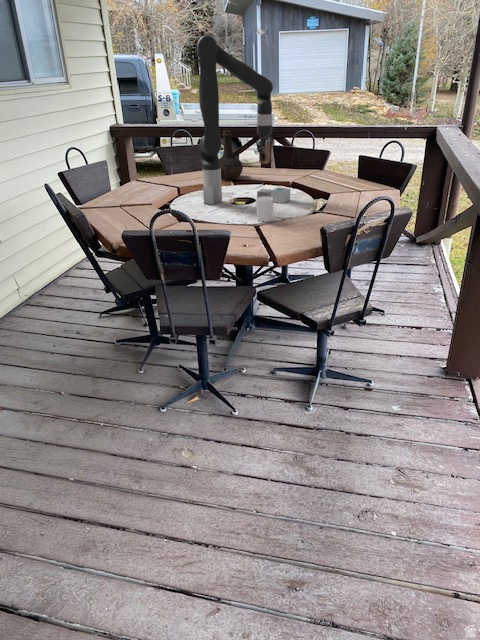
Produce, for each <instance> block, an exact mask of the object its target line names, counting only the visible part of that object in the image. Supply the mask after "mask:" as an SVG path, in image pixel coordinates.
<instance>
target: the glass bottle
mask: <svg viewBox="0 0 480 640" xmlns="http://www.w3.org/2000/svg"><path fill="white" fill-rule="evenodd" d="M222 136H223V149H222V150H223V151H222V152H223V153H222V156H221V157H218V159H219V161H220V166H221V180H225V181H226V180H227V181H229V180H231V181H232V180H235V179H238V178H239V177H240V176H241V175H242V173H243V169H244V167H243V163H242V161H241V160H240V159H238V158H237V157H236V156H235V155H234V151H233V144H232V136H233V134H232V132H231V130H223V131H222Z"/></svg>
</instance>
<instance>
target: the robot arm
mask: <svg viewBox="0 0 480 640" xmlns="http://www.w3.org/2000/svg"><path fill="white" fill-rule="evenodd" d="M196 51H197V54H198V61H199V82H198V84H199V86H198V98H199V99H198V100H199V101H198V102H199V109H200V113H201V117H202V118H201V119H202V121H203V125H204V126H203V127H204V128H203V129H204V132H203V133H204V135H203V136H201V138H200V139H199V156H200V163H201V168H202V179H203V180H202V182H203V185H202V191H203V193H202V194H203V195H202V197H203V204H204V203H208V204H207V205H211V204H214V205H219V204H222V203H223V188H222V179H221V166H220V161H219V153H220V151H221V149H222V139H221V132H220V121H219V120H220V100H219V99H220V98H219V97H220V95H219V93H220V92H219V83H218V76H217V65H219V66H220V67H221V68H224V69H225V70H227V72H229V73H230V74H231V75H232V76H234V77H236V78H237V79H238V80H239V81H241V82H242V83H244V84H245V85H247V86H249V87H251V88H252V89H253V90H256V99H257V115H256V116H257V118H256V134H257V135H258V136H259V138H258V140H256V142H255V144H256V150H257V153H260V161H265V148H266V145H267V144H270V151H272V149H273V148H272V147H273V141H274V138H273V137H271V135H272V134H273V103H272V97H271V95H272V92H273V89H274V85H273V83H272V81H271V80H270V79H269V78H267V77H265V76H264V75H262V74H260V73H259V72H257V71H256V70H255V69H254V68H252V67H251V66H250V65H248V64H246V62H243V61H242V60H240V59H238V58H236V57H235V56H233V55H232V54H230V53H228V52H227V51H226V50H224V49H223V48H222V47H221V46H220V45H218V43H217V40H216V39H215V38H214V37H213V36H211V35H208V34H207V35H203V36H201V37H200V38H199V39H198V41H197V43H196ZM262 146H264V147H262ZM259 148H260V150H259ZM221 202H222V203H221ZM218 203H219V204H218Z"/></svg>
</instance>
